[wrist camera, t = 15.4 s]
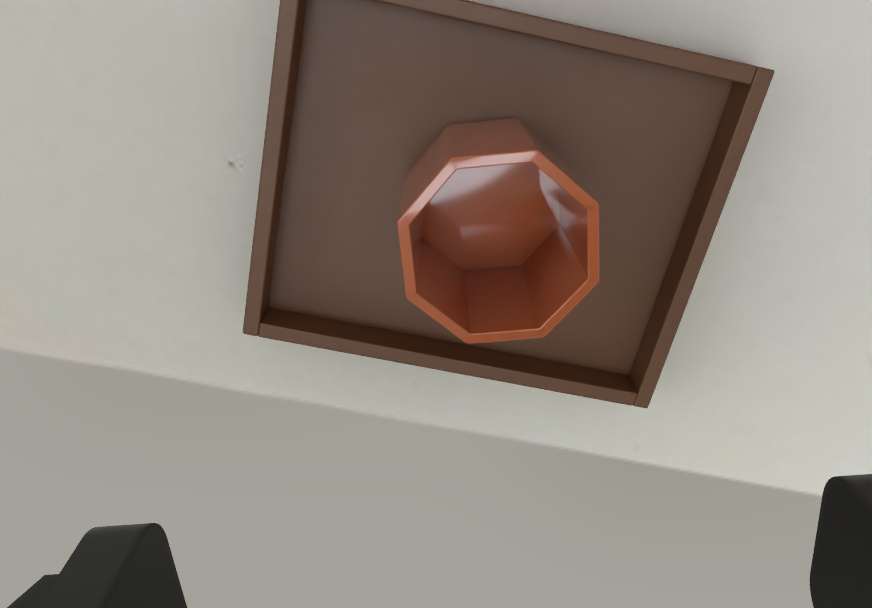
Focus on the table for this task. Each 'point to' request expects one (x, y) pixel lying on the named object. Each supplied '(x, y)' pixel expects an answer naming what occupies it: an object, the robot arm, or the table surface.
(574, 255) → the small cup
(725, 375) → the table surface
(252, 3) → the table surface
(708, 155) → the tray
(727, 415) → the table surface
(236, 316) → the table surface
